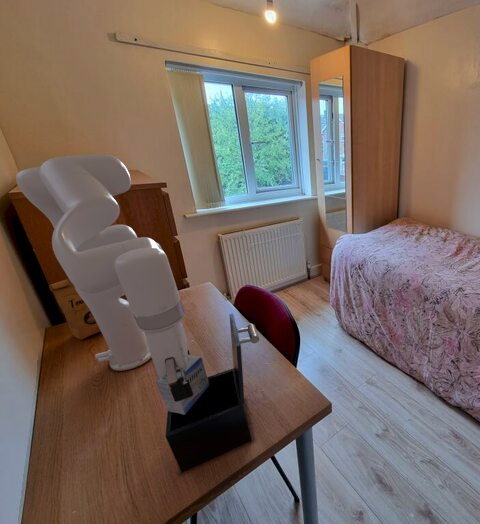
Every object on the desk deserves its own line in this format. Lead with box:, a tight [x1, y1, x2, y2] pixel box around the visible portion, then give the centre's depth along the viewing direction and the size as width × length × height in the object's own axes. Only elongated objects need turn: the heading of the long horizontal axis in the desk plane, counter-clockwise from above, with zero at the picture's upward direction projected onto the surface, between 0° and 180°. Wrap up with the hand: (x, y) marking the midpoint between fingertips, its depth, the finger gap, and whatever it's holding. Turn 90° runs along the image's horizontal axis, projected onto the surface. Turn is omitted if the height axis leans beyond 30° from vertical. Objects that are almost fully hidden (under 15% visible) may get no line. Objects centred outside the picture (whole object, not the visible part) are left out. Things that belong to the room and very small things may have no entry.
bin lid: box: [229, 312, 260, 405], centre depth 65 cm, size 15×13×5 cm
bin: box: [164, 367, 253, 474], centre depth 66 cm, size 15×13×12 cm
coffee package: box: [48, 278, 101, 340], centre depth 102 cm, size 10×12×22 cm
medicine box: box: [155, 354, 210, 415], centre depth 60 cm, size 8×4×9 cm, turn 166°
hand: (184, 381), depth 60 cm, fingers closed on medicine box, 8 cm apart
